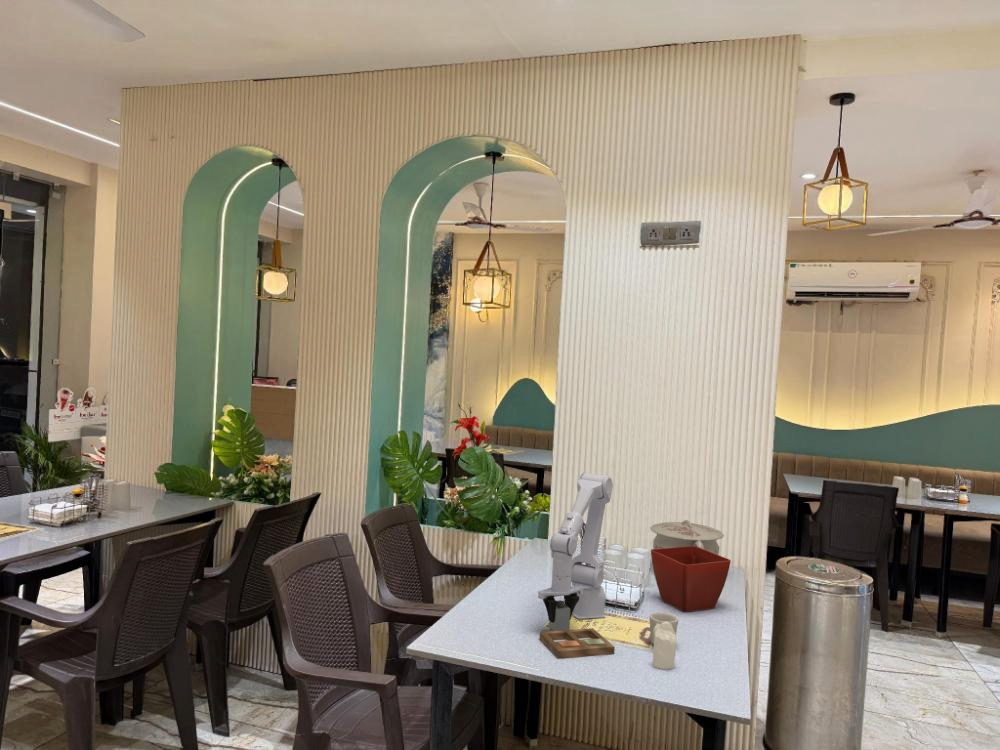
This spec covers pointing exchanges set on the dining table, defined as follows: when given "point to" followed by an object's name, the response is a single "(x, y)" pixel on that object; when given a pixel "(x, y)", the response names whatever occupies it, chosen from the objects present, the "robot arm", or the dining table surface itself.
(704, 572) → the plant pot
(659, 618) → the cup
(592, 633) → the socket board
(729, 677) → the dining table surface
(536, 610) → the dining table surface
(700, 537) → the chamber pot
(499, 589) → the dining table surface
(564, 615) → the plug
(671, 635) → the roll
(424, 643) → the dining table surface
